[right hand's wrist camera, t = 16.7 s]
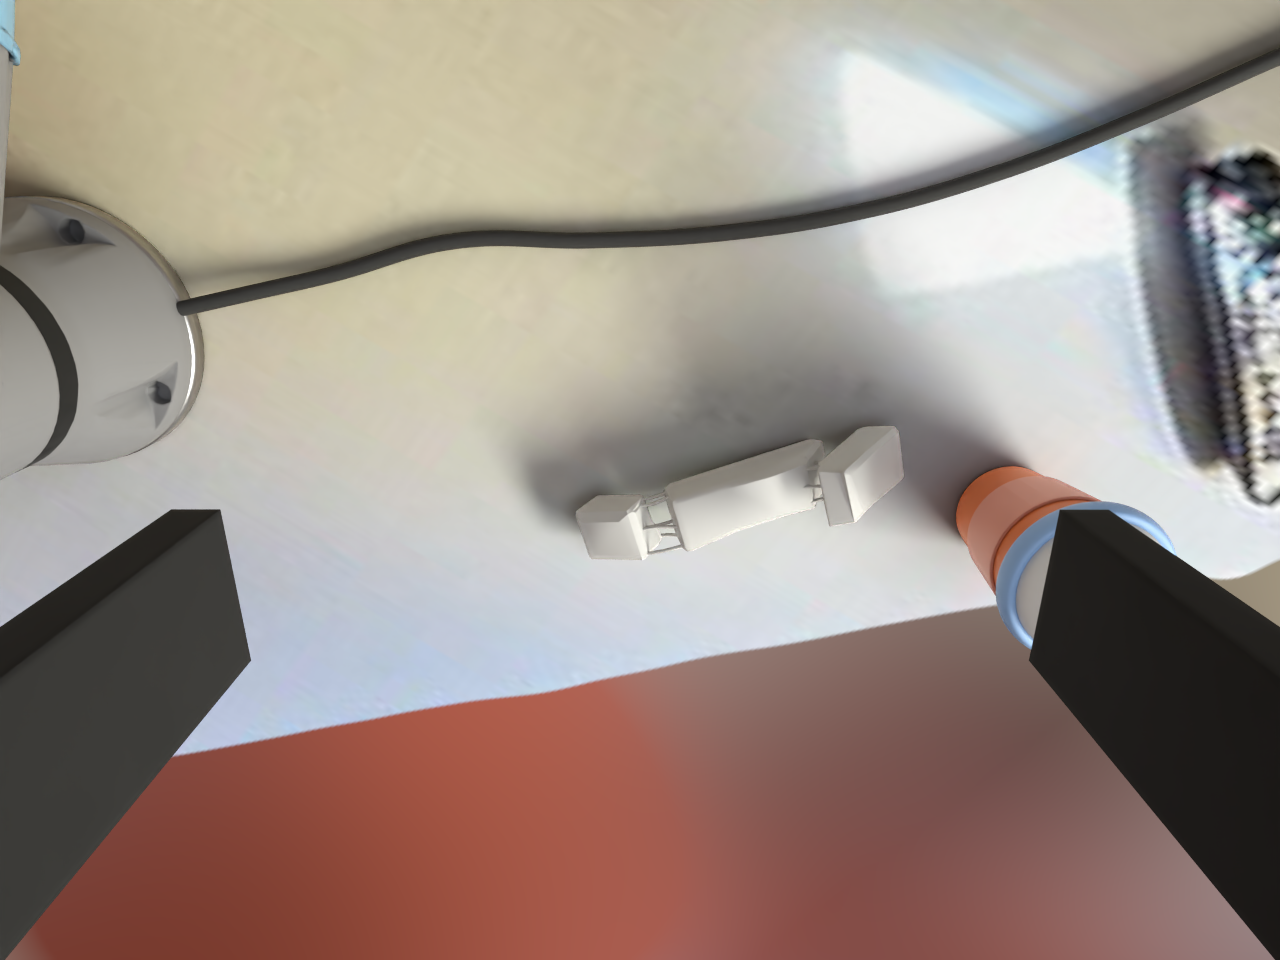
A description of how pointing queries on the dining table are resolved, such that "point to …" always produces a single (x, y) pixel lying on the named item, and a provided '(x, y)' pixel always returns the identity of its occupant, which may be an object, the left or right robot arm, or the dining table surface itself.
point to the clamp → (749, 495)
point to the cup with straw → (1026, 536)
